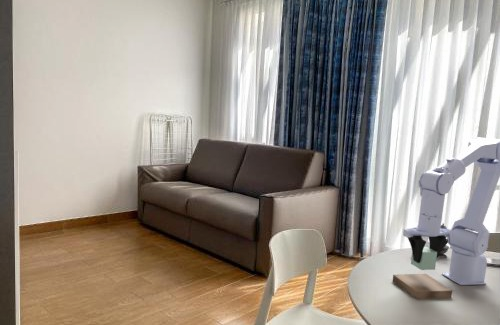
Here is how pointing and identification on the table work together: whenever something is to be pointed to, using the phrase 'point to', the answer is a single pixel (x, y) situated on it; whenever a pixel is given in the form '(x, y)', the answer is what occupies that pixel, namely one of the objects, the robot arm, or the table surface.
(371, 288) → the table surface
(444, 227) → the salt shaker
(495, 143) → the robot arm
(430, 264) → the sage block
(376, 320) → the table surface
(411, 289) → the walnut base
